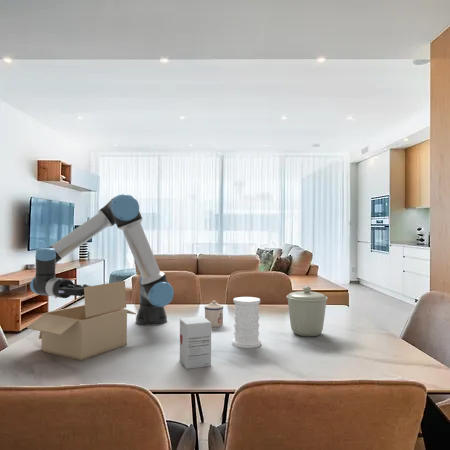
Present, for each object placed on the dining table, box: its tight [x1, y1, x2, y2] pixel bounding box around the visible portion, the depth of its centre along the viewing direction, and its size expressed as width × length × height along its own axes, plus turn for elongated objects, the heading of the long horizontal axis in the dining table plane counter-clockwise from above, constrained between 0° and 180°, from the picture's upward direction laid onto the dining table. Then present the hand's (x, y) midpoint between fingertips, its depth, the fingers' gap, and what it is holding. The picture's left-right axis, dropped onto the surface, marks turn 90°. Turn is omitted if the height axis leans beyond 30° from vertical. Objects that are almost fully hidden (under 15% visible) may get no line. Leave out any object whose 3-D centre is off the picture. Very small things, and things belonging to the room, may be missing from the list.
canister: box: [286, 285, 329, 337], centre depth 170 cm, size 18×18×21 cm
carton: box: [26, 303, 137, 362], centre depth 149 cm, size 26×37×14 cm
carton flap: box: [83, 280, 127, 317], centre depth 143 cm, size 1×20×10 cm, turn 151°
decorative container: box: [231, 296, 262, 349], centre depth 155 cm, size 12×12×18 cm
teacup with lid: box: [204, 300, 224, 328], centre depth 186 cm, size 12×9×12 cm
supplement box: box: [179, 316, 212, 370], centre depth 132 cm, size 9×9×15 cm
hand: (101, 293), depth 142 cm, fingers closed
